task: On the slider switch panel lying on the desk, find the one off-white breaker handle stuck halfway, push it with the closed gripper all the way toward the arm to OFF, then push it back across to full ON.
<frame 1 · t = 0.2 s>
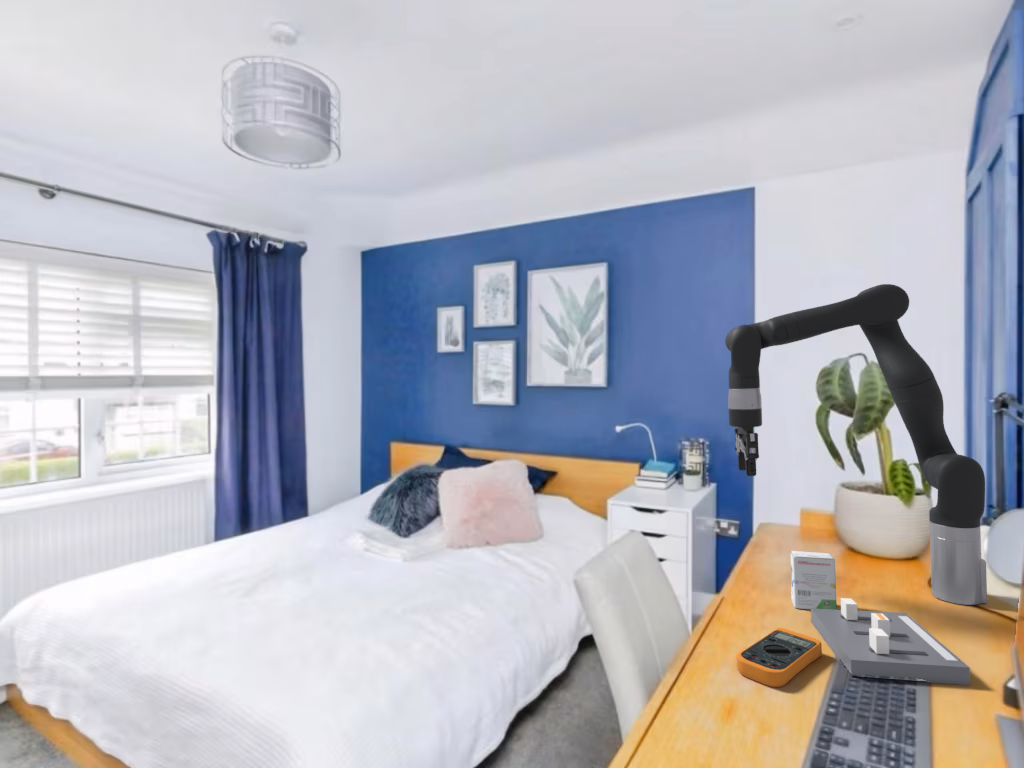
hand: (747, 472, 137), 29 cm above the table, tool pointing down, fingers open, 8 cm apart
tripped breaker: (880, 624, 106), point 5 cm above the table, slide at 3.0 cm
slider switch panel: (881, 650, 106), on the table
ink box: (813, 606, 127), on the table
multimeter: (779, 666, 102), on the table
breaker 3: (879, 641, 100), point 5 cm above the table, slide at 6.0 cm
breaker 1: (849, 609, 114), point 5 cm above the table, slide at 6.0 cm
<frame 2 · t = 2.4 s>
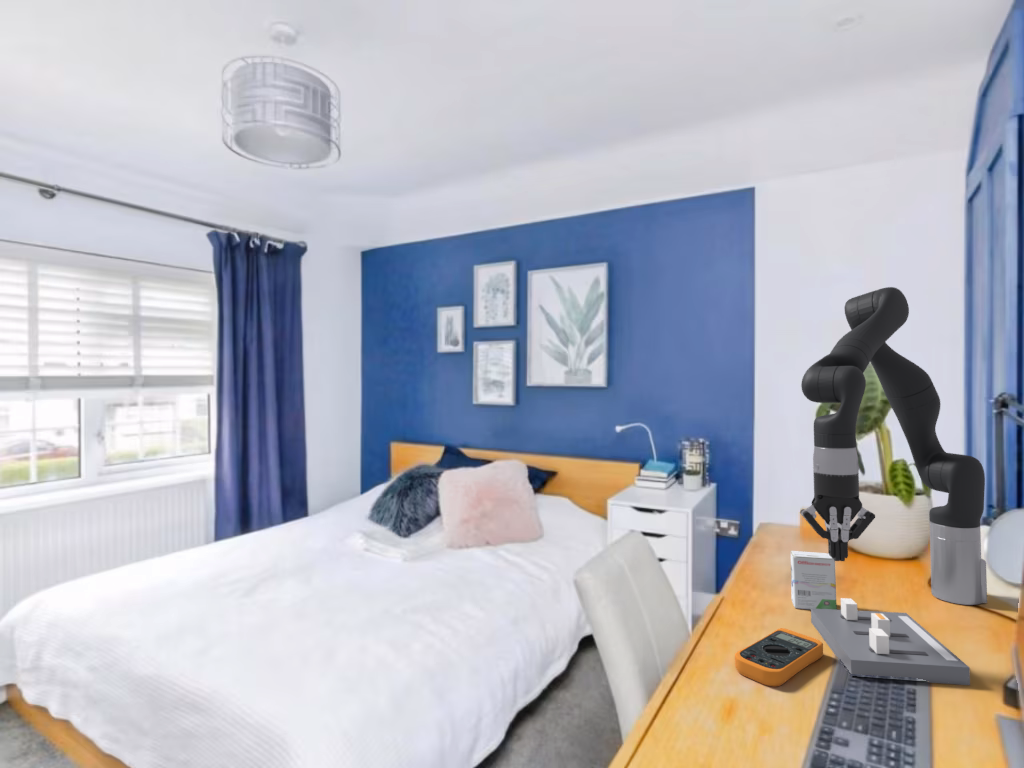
hand: (838, 559, 107), 17 cm above the table, tool pointing down, fingers closed
nothing on the table moved.
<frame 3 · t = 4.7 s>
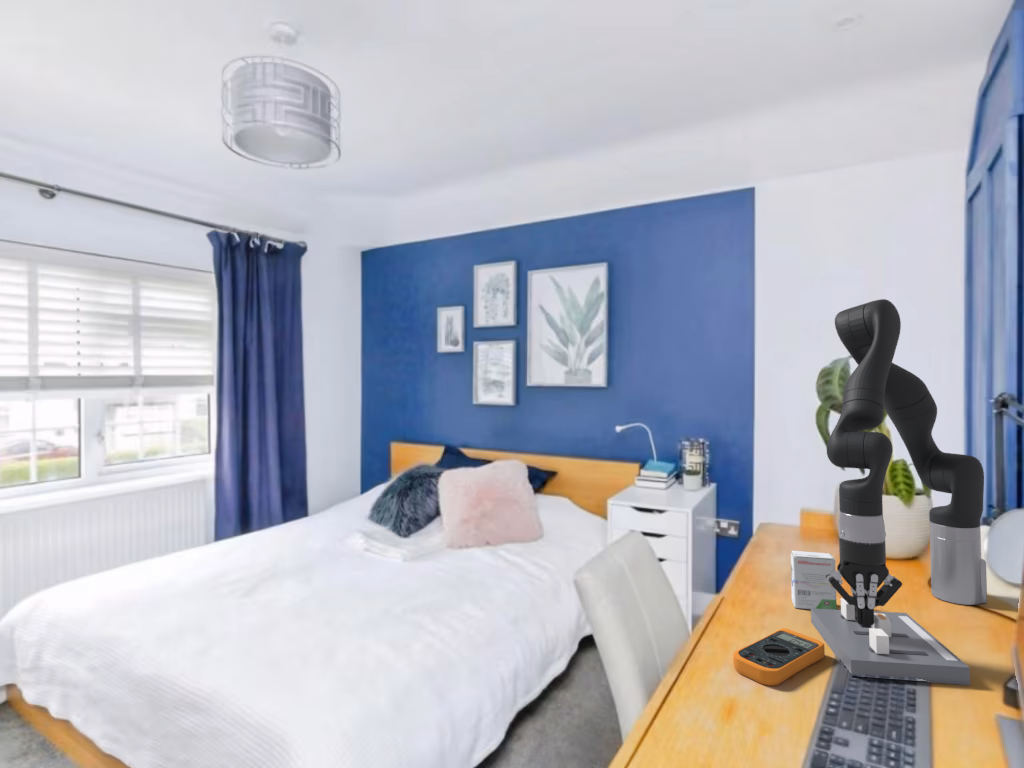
hand: (864, 625, 107), 4 cm above the table, tool pointing down, fingers closed
tripped breaker: (881, 624, 106), point 5 cm above the table, slide at 2.8 cm, touching gripper
ink box: (813, 606, 127), on the table, touching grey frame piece
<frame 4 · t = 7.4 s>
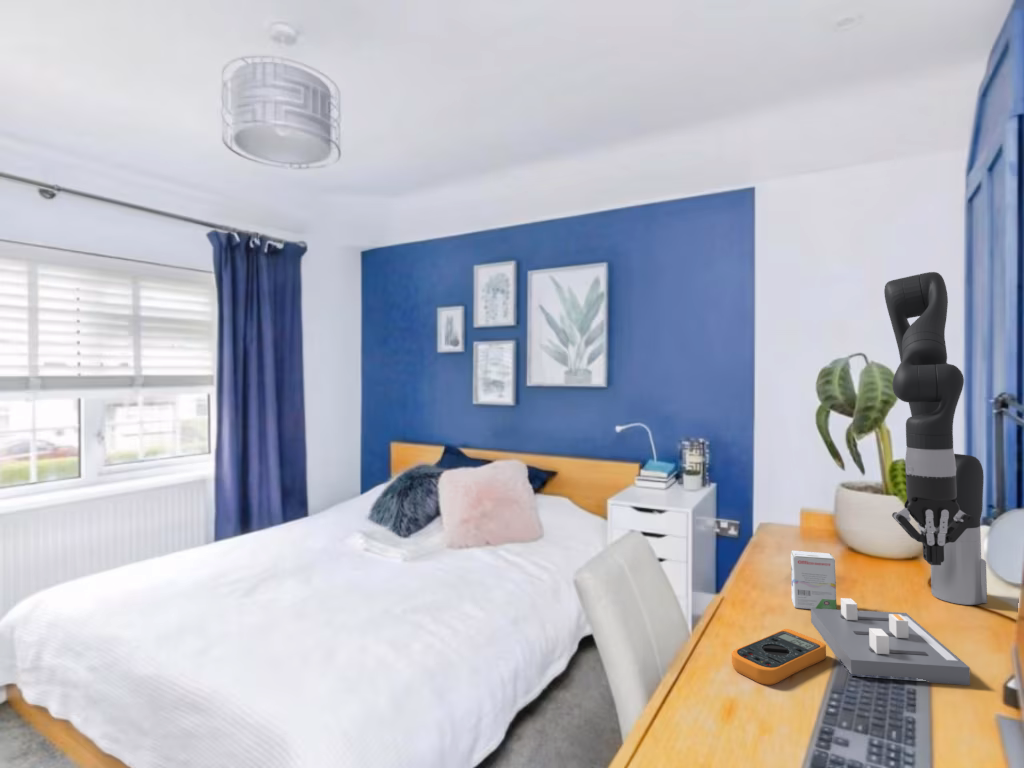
hand: (933, 563, 104), 17 cm above the table, tool pointing down, fingers closed
tripped breaker: (898, 625, 105), point 5 cm above the table, slide at -0.1 cm
ink box: (813, 606, 127), on the table
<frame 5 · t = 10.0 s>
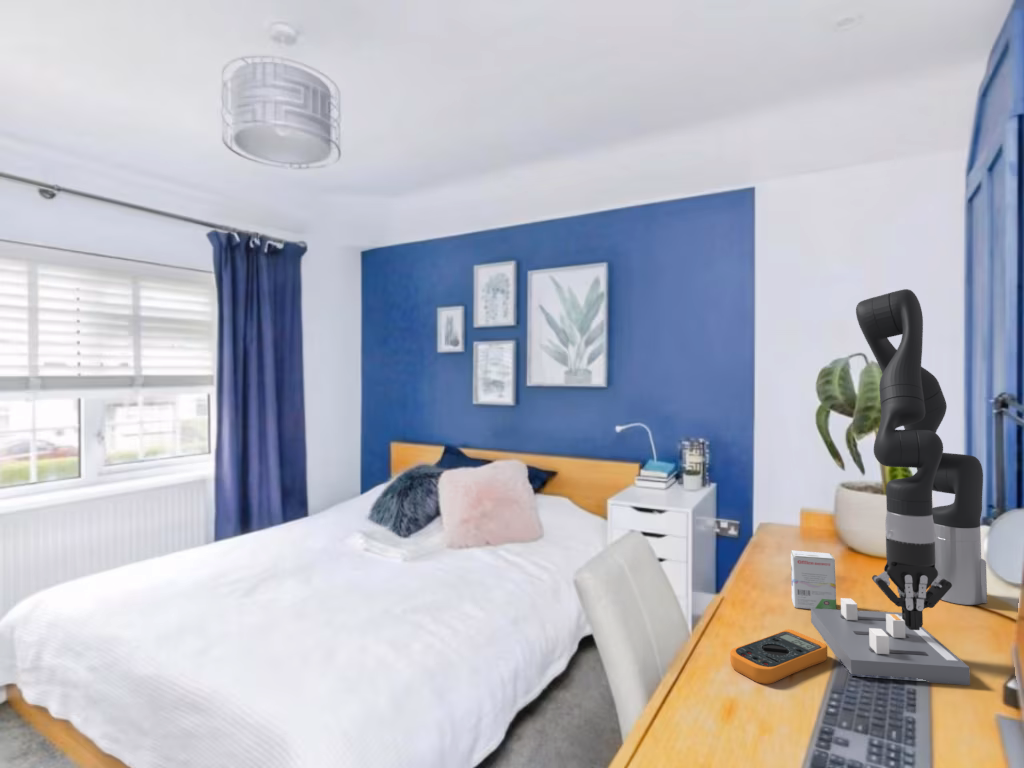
hand: (912, 628, 105), 5 cm above the table, tool pointing down, fingers closed
tripped breaker: (895, 625, 106), point 5 cm above the table, slide at 0.5 cm, touching gripper
everything else where it was.
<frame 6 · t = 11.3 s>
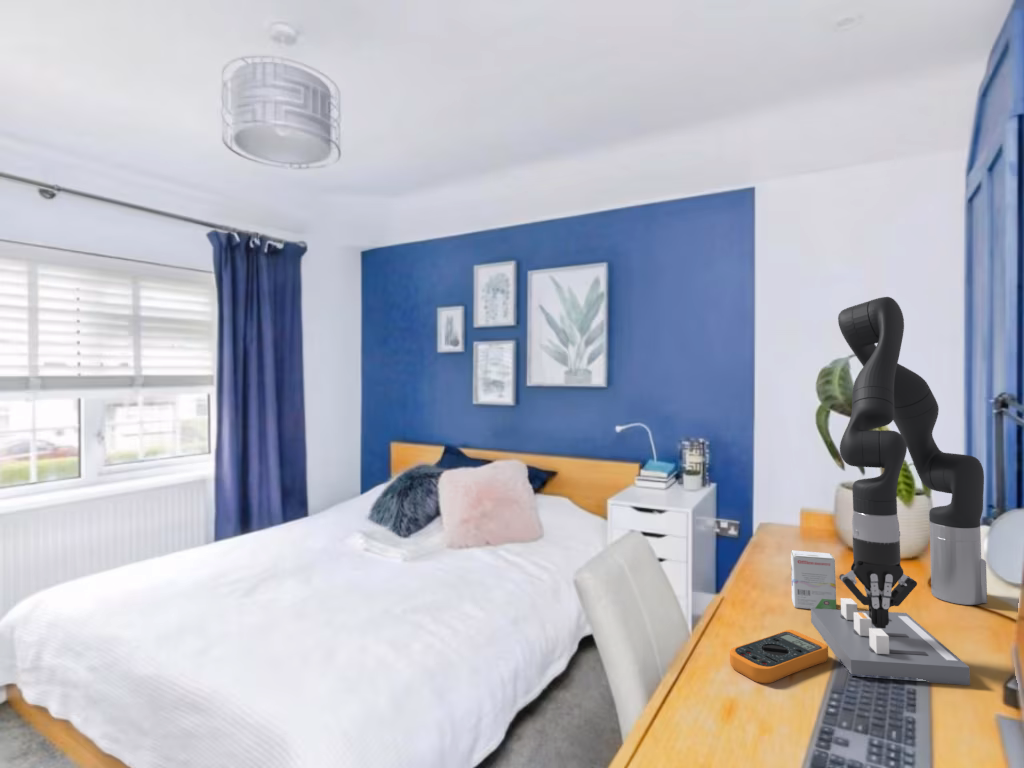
hand: (878, 626, 106), 5 cm above the table, tool pointing down, fingers closed
tripped breaker: (862, 623, 107), point 5 cm above the table, slide at 6.1 cm, touching gripper
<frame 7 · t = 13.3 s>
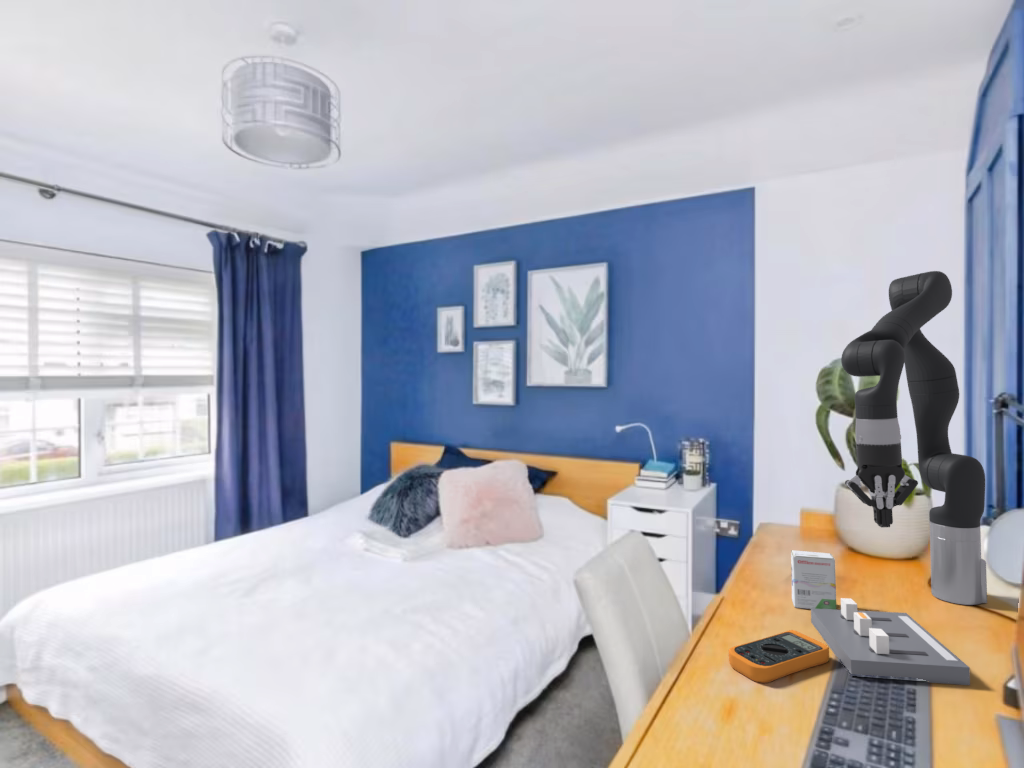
hand: (883, 526, 112), 22 cm above the table, tool pointing down, fingers closed
tripped breaker: (862, 623, 107), point 5 cm above the table, slide at 6.1 cm
ink box: (813, 606, 127), on the table, touching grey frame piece
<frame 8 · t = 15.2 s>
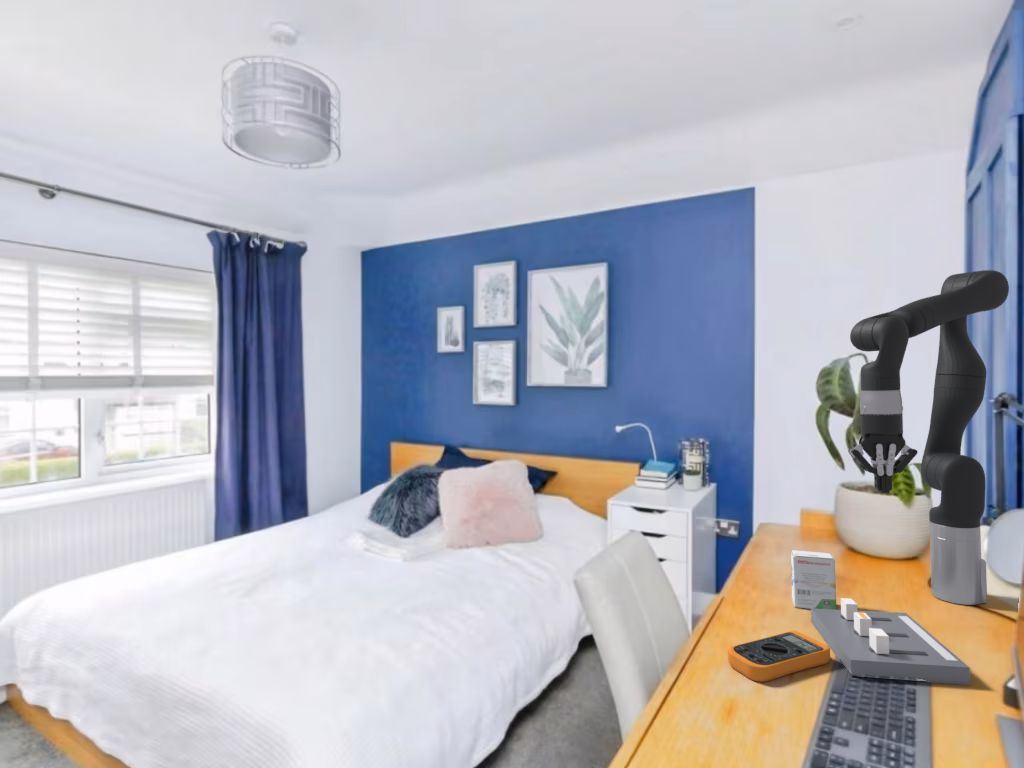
hand: (883, 492, 119), 27 cm above the table, tool pointing down, fingers closed
at the end: tripped breaker slide at 6.1 cm; breaker 1 slide at 6.0 cm; breaker 3 slide at 6.0 cm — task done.
